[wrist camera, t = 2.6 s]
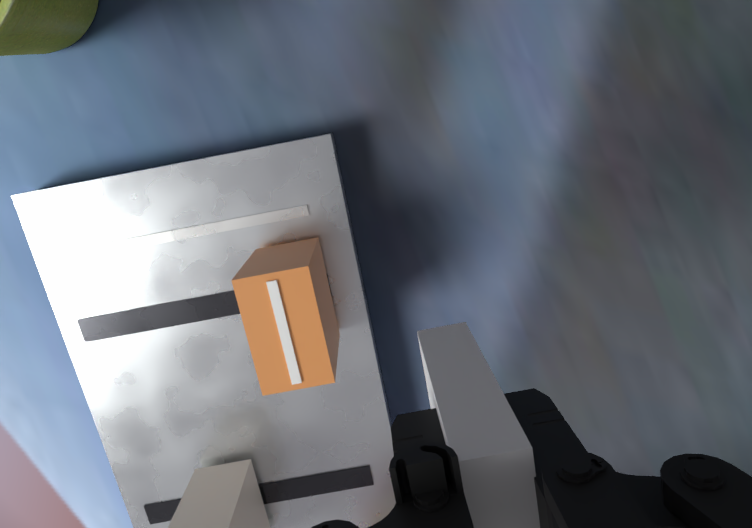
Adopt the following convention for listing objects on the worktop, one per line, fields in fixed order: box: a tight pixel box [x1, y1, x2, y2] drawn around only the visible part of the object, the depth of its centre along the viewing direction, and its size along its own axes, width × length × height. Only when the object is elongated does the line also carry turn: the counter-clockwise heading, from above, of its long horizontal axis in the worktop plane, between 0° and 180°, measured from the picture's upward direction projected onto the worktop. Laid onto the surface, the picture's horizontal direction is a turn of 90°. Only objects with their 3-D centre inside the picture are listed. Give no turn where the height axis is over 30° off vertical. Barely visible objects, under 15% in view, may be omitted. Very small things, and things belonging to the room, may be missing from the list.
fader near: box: [231, 237, 340, 396], centre depth 24 cm, size 3×5×5 cm, turn 11°
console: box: [11, 133, 396, 528], centre depth 29 cm, size 15×24×2 cm, turn 11°
